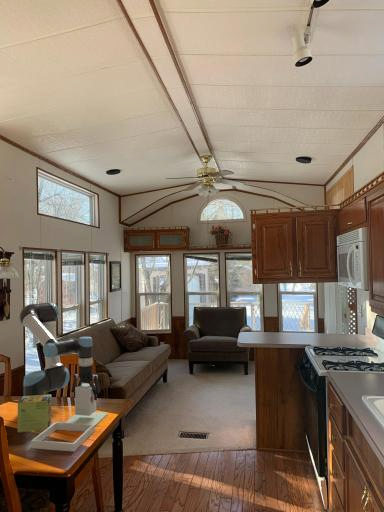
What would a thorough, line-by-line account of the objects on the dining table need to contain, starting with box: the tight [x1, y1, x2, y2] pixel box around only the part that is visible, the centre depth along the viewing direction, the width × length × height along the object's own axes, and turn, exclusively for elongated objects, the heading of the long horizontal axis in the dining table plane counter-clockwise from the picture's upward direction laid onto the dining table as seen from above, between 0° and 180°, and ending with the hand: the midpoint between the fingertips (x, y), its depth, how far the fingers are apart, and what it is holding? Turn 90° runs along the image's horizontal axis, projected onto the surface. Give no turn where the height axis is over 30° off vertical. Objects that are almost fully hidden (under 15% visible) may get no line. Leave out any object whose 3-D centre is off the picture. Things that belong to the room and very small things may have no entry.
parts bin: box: [30, 421, 96, 453], centre depth 192 cm, size 22×22×4 cm
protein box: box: [17, 394, 53, 433], centre depth 207 cm, size 10×15×16 cm
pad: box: [64, 411, 109, 428], centre depth 215 cm, size 18×18×1 cm
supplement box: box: [74, 382, 98, 416], centre depth 216 cm, size 9×9×15 cm
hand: (86, 405), depth 216 cm, fingers closed on supplement box, 9 cm apart
